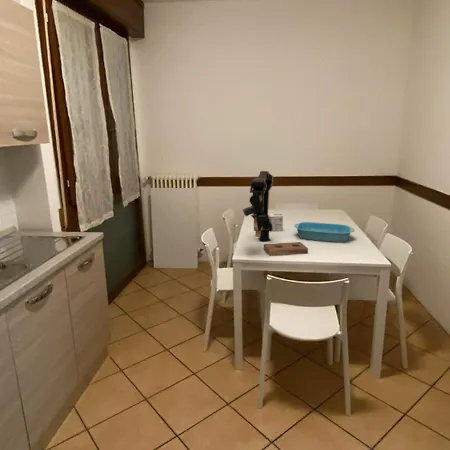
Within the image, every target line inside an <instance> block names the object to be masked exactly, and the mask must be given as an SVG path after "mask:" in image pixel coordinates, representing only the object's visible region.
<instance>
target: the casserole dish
mask: <svg viewBox="0 0 450 450" xmlns="http://www.w3.org/2000/svg"><path fill="white" fill-rule="evenodd" d="M294 228H296V231H297V234H298V236H299V237H300V238H301V239H303V240H309V241H310V240H311V241H321V242H333V243H334V242H335V243H344V242H346V241H348V239H349V238H350V235H351V233H353V232H355V231H356V230H355V228H354V227H352V226H350V225H347V224H339V223H327V222H314V221H302V222H298V223H296V224H294Z"/></svg>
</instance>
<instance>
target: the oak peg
mask: <svg viewBox="0 0 450 450" xmlns="http://www.w3.org/2000/svg"><path fill="white" fill-rule="evenodd" d="M253 231H254V232H255V237H257V238H259V237H260V236H261V231H262V228H261V230H260V231H258V226H257V221H256V220H255V219H254V218H253Z"/></svg>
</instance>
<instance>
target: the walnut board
mask: <svg viewBox="0 0 450 450" xmlns="http://www.w3.org/2000/svg"><path fill="white" fill-rule="evenodd" d="M263 250H264V251H265V253H266V254H267V255H268V256H269V257H272V256H273V257H274V256H275V257H276V256H278V257H279V256H291V255H293V256H294V255H305V254H306V255H307V254H309V252H308V251H309V248H308V247H307V246H306V245H305V244H303V242H301V241H294V242H278V243H264V244H263Z"/></svg>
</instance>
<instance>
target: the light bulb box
mask: <svg viewBox="0 0 450 450" xmlns="http://www.w3.org/2000/svg"><path fill="white" fill-rule="evenodd" d="M268 215H269V217H270V222H271V224H272V231H271V232H283V229H284V228H283V226H284V224H283V223H284V219H283V218H284V215H282V213H272V214H271V213H268Z"/></svg>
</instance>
